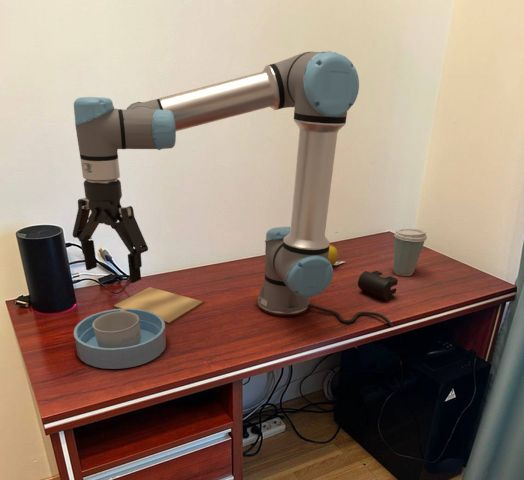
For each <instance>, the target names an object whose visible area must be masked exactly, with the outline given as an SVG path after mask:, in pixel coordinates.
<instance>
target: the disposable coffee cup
mask: <svg viewBox="0 0 524 480" xmlns="http://www.w3.org/2000/svg"><path fill="white" fill-rule="evenodd" d="M427 237H428V236H427V231H425V230H424V229H419V228H409V227H408V228H398V229H397V230H395V232H394V233H393V265H392V267H393V268H392V269H393V273H394V274H395V275H397V276H400V277H401V276H402V277H411V276H412V275H413V274H414V272H415V269H416V267H417V264H418V261H419V258H420V256H421V254H422V253H421V252H422V250H423V246H424V245H425V242H426V240H427Z"/></svg>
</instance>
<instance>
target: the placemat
mask: <svg viewBox="0 0 524 480" xmlns="http://www.w3.org/2000/svg"><path fill="white" fill-rule="evenodd" d="M203 303H204V301H203V300H200V299H196V298H192V297H188V296H184V295H181V294H177V293H174V292H171V291H167V290H162V289H159V288H155V287H151V286H149V287H147V288H145V289H143V290H141V291H139V292H137V293H135V294H133V295H131V296H129V297H127V298H125V299H123V300H121V301H120V302H117V303H115V304H113V308H114V309H122V308H129V309H141V310H146V311H149V312H153V313H155V314H157V315H159V316H160V317H161V318H162V319H163V321H164V323H165V324H168V325H170V324H171V323H173V322H175V321H176V320H178V319H179V318H181V317H184V315H187V314H188V313H189V312H191V311H193V310H194V309H196V308H197V307H199V306H201V305H202V304H203Z"/></svg>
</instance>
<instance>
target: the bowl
mask: <svg viewBox="0 0 524 480" xmlns="http://www.w3.org/2000/svg"><path fill="white" fill-rule="evenodd" d="M126 309H127V310H128V312H132V313H135V314H136V315H138V317H139V325H140V331H141V340H140V343H139V344H137V345H134V346H129V347H123V348H101V347H99V345H98V343H97V340H96V336H95V332H94V328H93V326H92V324H93V322H94V320H95V319H97V318H98V317H100V316H102V315H104V314H107V313H111V312H117V311H120V310H121V309H119V308H114V309H107V310H104V311H99V312H97V313H94V314H90V315H89V316H86V317H85V318H83V319H82V320H81V321H79V322H78V323H77V324H76V326H75V327H74V329H73V337H74V344H75V349H76V355H77V357H78V358H79V359H80V360H81V361H82V362H83V363H84V364H86V365H89V366H90V367H91V366H92V367H94V368H100V369H107V370H120V369H128V368H129V369H130V368H134V367H137V366H138V367H139V366H141V365H145V364H148V363H149V362H152V361H154V360H156V359H157V358H158V357H160V356H161V355H162V354H163V353H164V351H165V350H166V347H167V335H166V323H165V322H164V321H163V319H162V318H161V317H160V316H159V315H157V314H155V313H153V312H149V311H146V310H141V309H129V308H126Z"/></svg>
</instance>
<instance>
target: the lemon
mask: <svg viewBox="0 0 524 480" xmlns="http://www.w3.org/2000/svg"><path fill="white" fill-rule="evenodd" d="M338 257H339V254H338V250H337V248H336V247H335V245H332V244H330V247H329V255H328V260H329V261H330V263H331V265H332V266H335V265H334V264H335V263H336V261H338Z"/></svg>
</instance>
